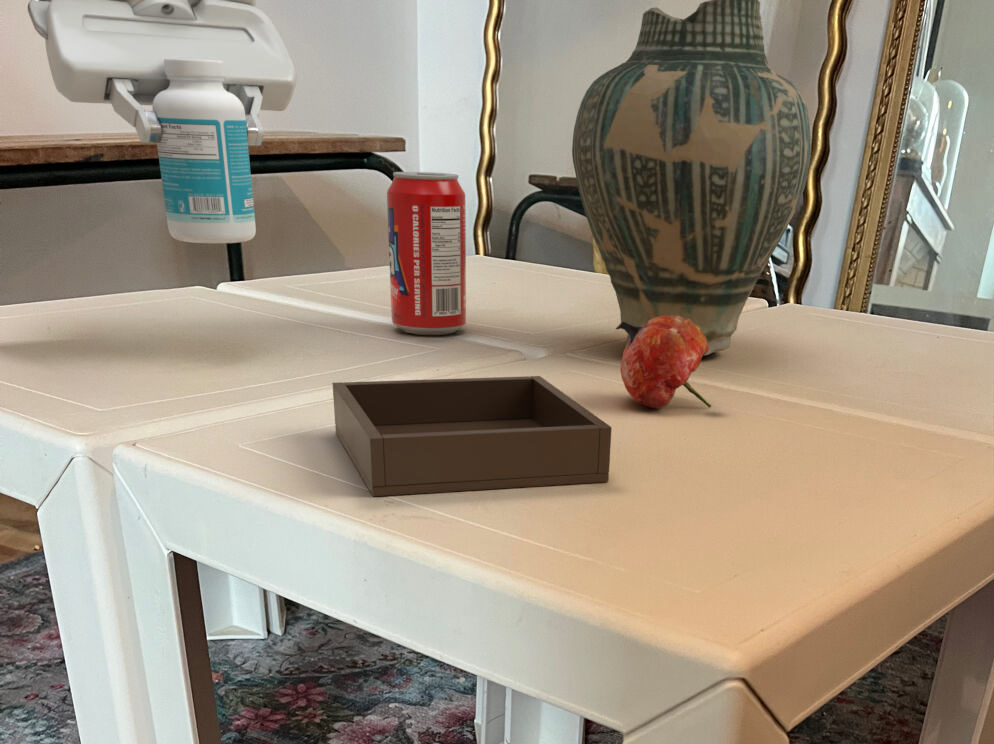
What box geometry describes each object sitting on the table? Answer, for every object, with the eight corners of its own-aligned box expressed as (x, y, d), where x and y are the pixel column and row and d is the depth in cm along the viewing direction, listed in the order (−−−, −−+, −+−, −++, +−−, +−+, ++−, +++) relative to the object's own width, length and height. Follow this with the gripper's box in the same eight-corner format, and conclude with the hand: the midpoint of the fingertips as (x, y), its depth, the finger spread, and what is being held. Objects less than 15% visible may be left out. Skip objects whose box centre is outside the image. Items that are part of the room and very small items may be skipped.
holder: (372, 496, 69) (369, 438, 68) (335, 432, 82) (332, 382, 80) (608, 482, 74) (611, 427, 72) (538, 423, 87) (540, 375, 85)
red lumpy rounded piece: (691, 422, 98) (606, 342, 96) (749, 359, 93) (661, 275, 92) (673, 452, 92) (581, 368, 90) (733, 387, 88) (638, 298, 86)
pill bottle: (228, 234, 103) (212, 61, 96) (273, 243, 98) (259, 62, 92) (152, 237, 98) (129, 56, 91) (195, 246, 94) (174, 56, 87)
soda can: (446, 340, 115) (444, 176, 108) (378, 332, 117) (371, 172, 110) (477, 328, 122) (477, 173, 114) (412, 321, 124) (408, 169, 116)
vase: (827, 371, 108) (882, -2, 93) (614, 380, 101) (637, -22, 86) (722, 330, 126) (754, 12, 111) (535, 336, 119) (542, -3, 104)
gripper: (22, -45, 88) (80, 103, 86) (268, -18, 98) (325, 113, 97) (18, 25, 93) (73, 165, 91) (253, 42, 104) (306, 168, 102)
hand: (205, 138), depth 94 cm, fingers closed on pill bottle, 7 cm apart
